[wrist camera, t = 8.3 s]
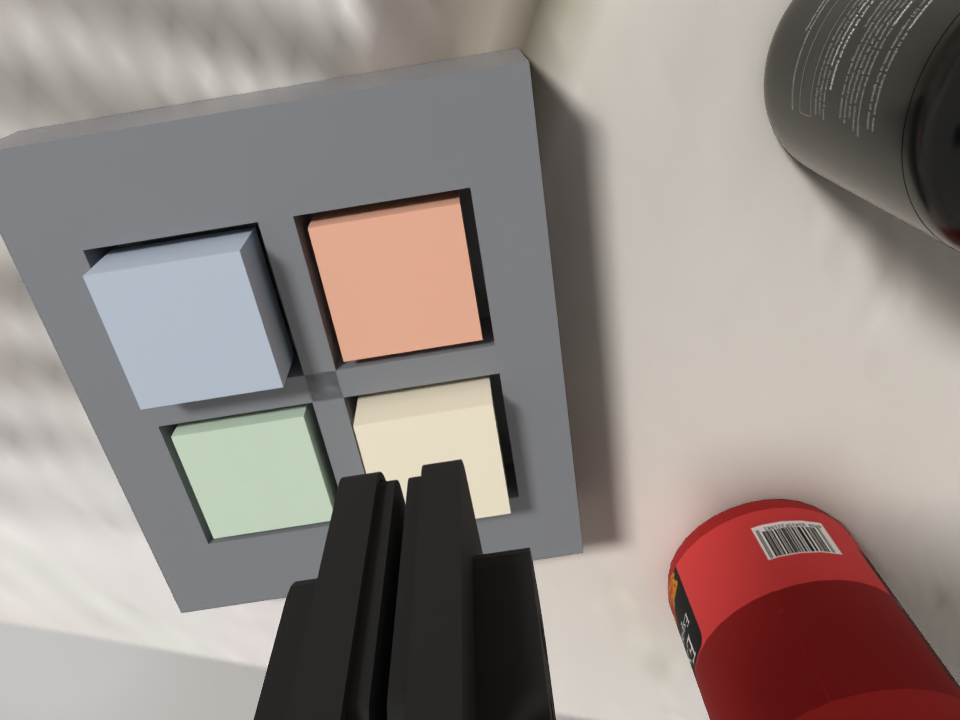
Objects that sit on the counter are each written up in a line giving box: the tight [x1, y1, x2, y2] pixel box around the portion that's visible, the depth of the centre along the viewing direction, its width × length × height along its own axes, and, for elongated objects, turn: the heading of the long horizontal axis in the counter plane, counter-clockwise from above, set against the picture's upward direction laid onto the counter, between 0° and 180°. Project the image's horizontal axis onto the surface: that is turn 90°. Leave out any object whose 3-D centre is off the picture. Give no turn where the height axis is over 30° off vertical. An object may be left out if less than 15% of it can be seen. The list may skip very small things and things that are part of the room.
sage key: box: [171, 403, 338, 539], centre depth 26 cm, size 4×4×2 cm
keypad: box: [0, 48, 583, 613], centre depth 25 cm, size 17×15×3 cm
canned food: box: [668, 499, 960, 720], centre depth 28 cm, size 8×8×11 cm
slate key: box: [83, 227, 294, 410], centre depth 22 cm, size 4×4×2 cm
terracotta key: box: [308, 189, 483, 362], centre depth 23 cm, size 4×4×2 cm
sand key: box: [353, 375, 511, 519], centre depth 25 cm, size 4×4×2 cm
